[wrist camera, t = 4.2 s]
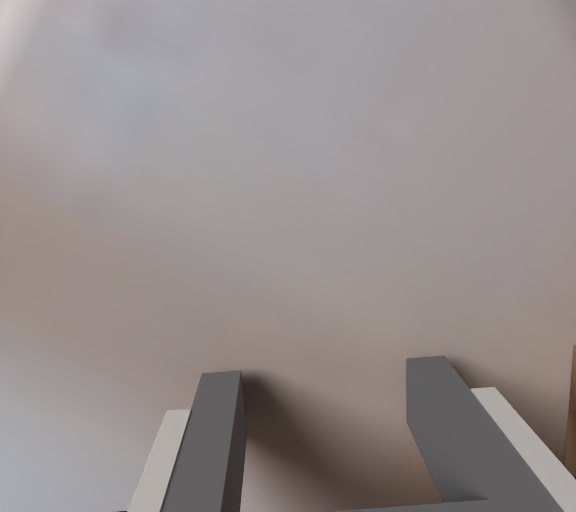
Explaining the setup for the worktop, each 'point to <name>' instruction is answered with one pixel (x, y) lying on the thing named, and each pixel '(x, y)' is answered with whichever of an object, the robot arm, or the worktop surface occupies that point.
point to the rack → (571, 424)
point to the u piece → (423, 425)
